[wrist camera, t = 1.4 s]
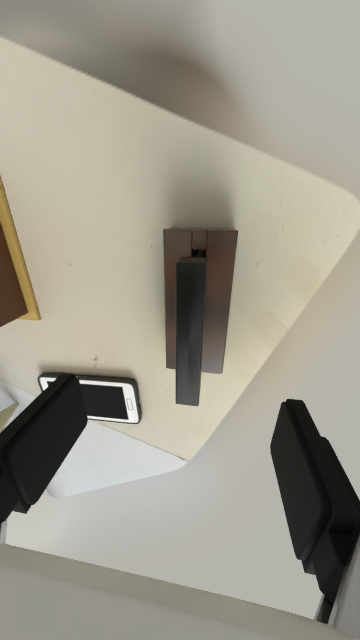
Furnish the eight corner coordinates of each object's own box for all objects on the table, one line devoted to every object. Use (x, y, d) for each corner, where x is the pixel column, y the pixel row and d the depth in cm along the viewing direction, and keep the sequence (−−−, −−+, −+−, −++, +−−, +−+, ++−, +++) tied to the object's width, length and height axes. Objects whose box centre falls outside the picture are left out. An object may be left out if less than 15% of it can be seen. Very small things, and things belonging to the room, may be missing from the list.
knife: (192, 244, 21) (175, 262, 13) (210, 245, 21) (206, 263, 12) (189, 342, 26) (175, 404, 17) (204, 343, 26) (198, 406, 17)
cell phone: (143, 419, 33) (141, 425, 32) (54, 410, 35) (50, 415, 34) (136, 378, 29) (134, 383, 28) (39, 371, 32) (34, 375, 31)
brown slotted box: (171, 227, 21) (162, 229, 18) (234, 228, 20) (238, 230, 17) (172, 351, 27) (166, 368, 24) (221, 355, 26) (222, 374, 23)
